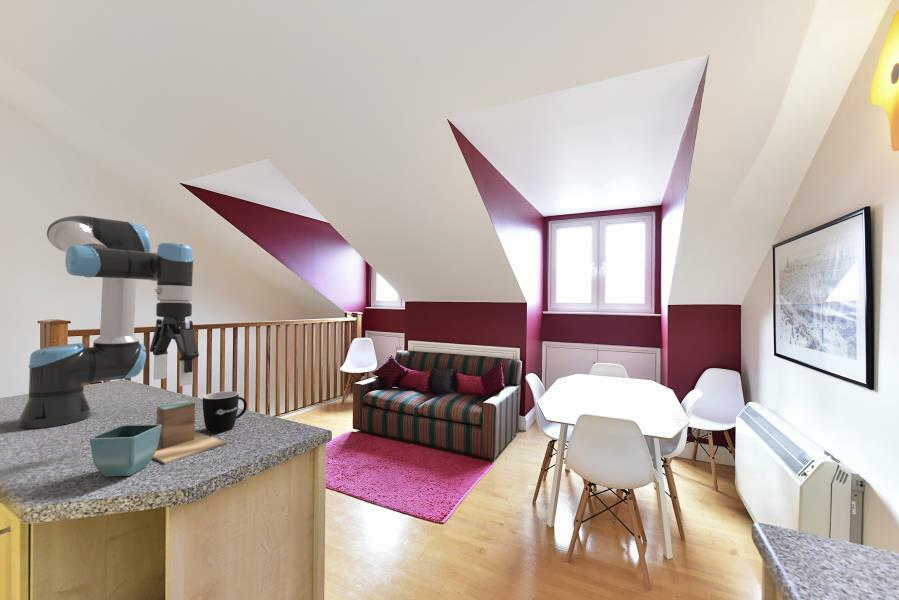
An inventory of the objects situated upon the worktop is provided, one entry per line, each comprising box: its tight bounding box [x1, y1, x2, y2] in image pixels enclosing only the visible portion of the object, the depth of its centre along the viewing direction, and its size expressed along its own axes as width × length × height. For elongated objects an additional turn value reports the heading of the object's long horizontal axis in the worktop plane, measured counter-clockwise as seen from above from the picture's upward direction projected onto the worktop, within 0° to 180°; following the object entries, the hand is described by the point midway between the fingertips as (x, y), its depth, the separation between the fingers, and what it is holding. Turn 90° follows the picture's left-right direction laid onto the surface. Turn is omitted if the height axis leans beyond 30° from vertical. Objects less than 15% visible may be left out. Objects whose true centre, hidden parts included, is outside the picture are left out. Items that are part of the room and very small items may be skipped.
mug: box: [202, 390, 248, 434], centre depth 108 cm, size 12×9×10 cm
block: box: [155, 400, 196, 449], centre depth 95 cm, size 4×7×10 cm, turn 151°
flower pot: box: [89, 424, 162, 477], centre depth 80 cm, size 9×9×9 cm
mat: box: [151, 430, 228, 465], centre depth 94 cm, size 18×14×1 cm
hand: (172, 381), depth 96 cm, fingers open, 13 cm apart
